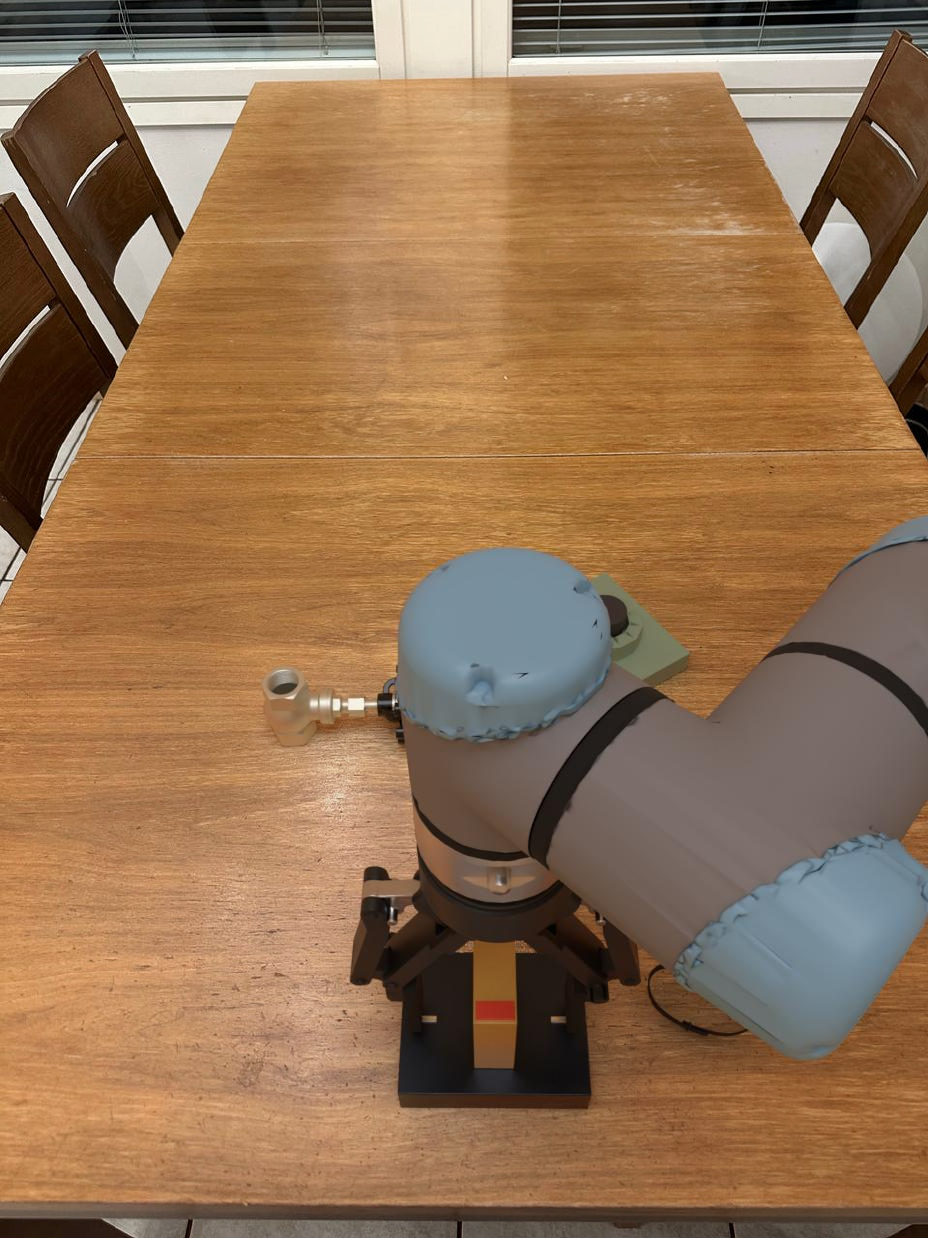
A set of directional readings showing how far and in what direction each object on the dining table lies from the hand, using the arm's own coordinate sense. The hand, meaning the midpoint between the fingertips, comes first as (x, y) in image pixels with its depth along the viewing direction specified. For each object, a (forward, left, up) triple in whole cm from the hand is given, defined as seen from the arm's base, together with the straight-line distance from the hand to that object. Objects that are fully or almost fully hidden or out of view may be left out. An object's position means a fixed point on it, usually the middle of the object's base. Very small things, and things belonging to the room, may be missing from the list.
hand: (493, 1010), depth 60 cm
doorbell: (+23, -27, -5) cm, 36 cm away
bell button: (+23, -27, -1) cm, 35 cm away
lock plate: (0, 0, -5) cm, 5 cm away
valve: (+28, -3, -5) cm, 29 cm away
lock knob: (0, 0, -2) cm, 2 cm away
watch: (-6, -13, -5) cm, 15 cm away
